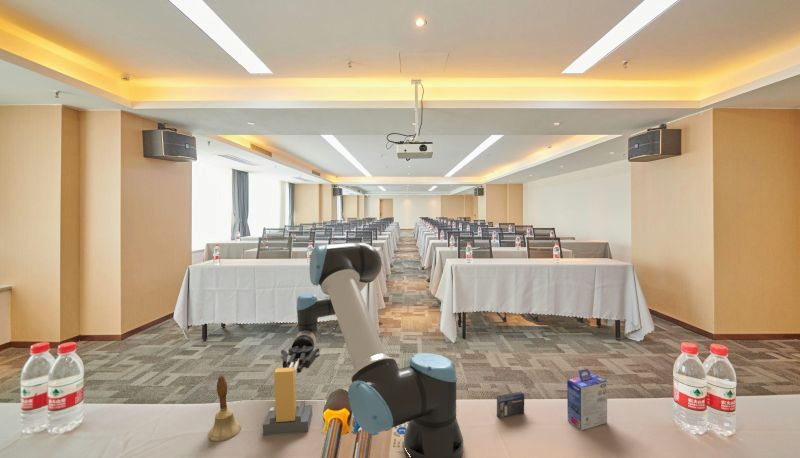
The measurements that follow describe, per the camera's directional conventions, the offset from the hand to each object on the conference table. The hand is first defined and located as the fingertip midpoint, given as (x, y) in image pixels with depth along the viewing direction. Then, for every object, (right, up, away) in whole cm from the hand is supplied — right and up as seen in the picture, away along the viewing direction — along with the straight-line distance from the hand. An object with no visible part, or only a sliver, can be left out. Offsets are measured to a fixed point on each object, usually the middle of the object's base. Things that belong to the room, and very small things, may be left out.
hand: (291, 376), depth 106 cm
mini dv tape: (+65, -11, -1) cm, 66 cm away
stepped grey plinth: (+1, -12, -4) cm, 13 cm away
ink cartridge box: (+85, -11, -5) cm, 86 cm away
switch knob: (+1, -9, -7) cm, 11 cm away
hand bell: (-16, -13, -7) cm, 22 cm away
